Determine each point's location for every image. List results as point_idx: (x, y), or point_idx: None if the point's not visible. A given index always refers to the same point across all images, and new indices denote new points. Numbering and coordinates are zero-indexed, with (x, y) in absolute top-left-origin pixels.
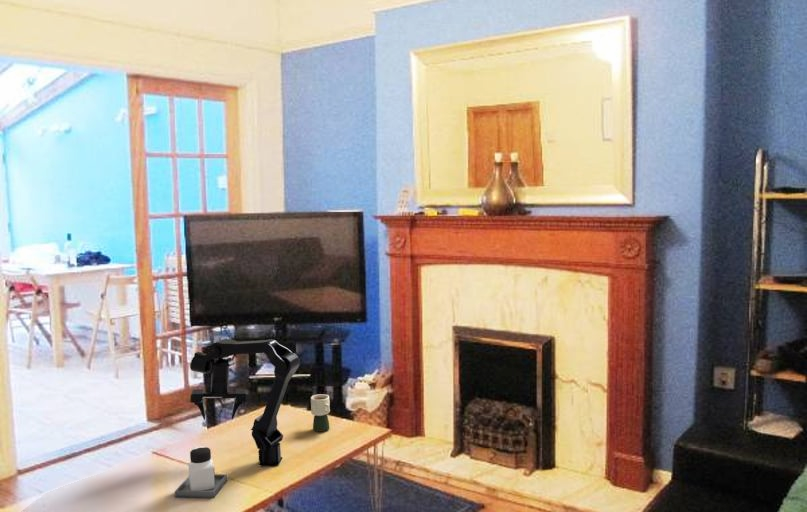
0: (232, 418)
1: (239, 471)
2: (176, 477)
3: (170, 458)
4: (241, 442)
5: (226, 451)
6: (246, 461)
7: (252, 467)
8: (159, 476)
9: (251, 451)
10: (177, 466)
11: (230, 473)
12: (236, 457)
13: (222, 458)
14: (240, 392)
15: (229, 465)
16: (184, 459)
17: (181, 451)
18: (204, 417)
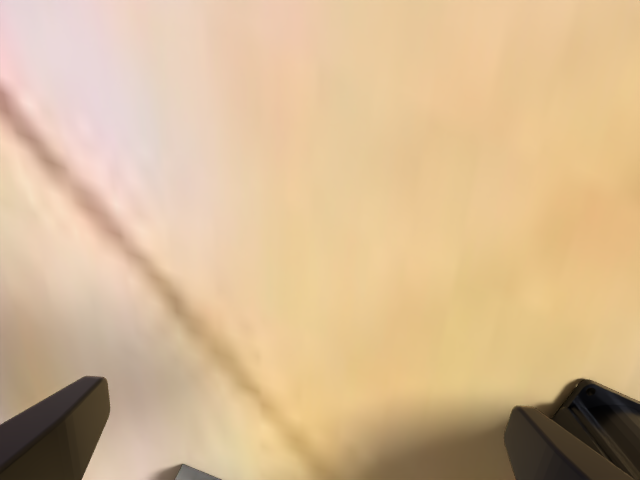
0: (523, 463)
1: (413, 468)
2: (110, 410)
3: (29, 144)
4: (515, 28)
5: (381, 170)
6: (473, 371)
7: (486, 453)
8: (25, 368)
9: (539, 238)
10: (93, 283)
11: (366, 471)
12: (428, 294)
13: (345, 275)
14: None
15: (373, 383)
16: (119, 196)
17: (79, 40)
18: (77, 467)
